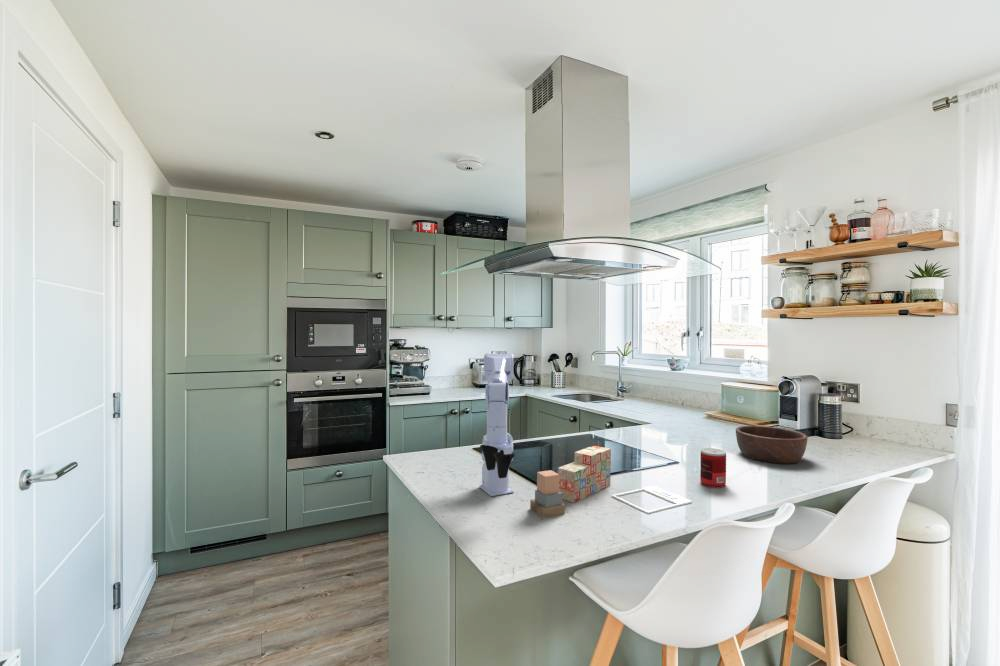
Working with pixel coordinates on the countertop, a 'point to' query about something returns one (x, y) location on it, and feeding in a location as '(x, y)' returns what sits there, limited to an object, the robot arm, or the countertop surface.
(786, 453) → the wooden bowl
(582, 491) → the stack of blocks
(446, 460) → the countertop surface
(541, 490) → the terracotta block
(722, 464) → the canned food
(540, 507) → the walnut base block
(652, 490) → the photo frame
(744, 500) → the countertop surface
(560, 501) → the gray top block
